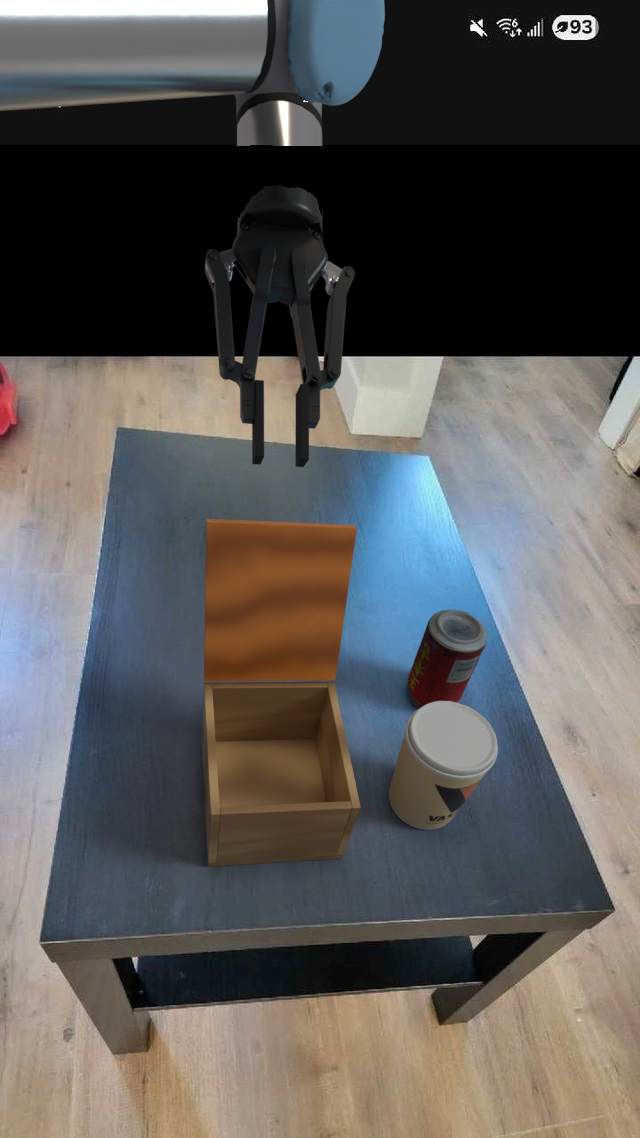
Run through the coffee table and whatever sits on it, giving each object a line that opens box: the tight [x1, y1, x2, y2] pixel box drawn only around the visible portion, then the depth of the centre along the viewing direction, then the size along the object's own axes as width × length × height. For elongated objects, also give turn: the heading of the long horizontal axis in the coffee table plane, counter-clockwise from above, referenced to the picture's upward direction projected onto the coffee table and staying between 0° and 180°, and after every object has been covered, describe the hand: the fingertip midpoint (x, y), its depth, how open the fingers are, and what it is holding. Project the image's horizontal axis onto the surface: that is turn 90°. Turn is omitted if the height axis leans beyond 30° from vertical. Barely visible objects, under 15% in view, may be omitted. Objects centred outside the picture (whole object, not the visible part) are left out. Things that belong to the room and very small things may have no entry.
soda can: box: [407, 609, 488, 709], centre depth 82 cm, size 7×7×12 cm
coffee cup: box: [388, 701, 499, 831], centre depth 72 cm, size 9×9×12 cm
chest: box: [201, 681, 362, 867], centre depth 70 cm, size 16×14×10 cm
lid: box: [203, 518, 358, 682], centre depth 66 cm, size 16×14×1 cm
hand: (280, 461), depth 62 cm, fingers open, 3 cm apart
